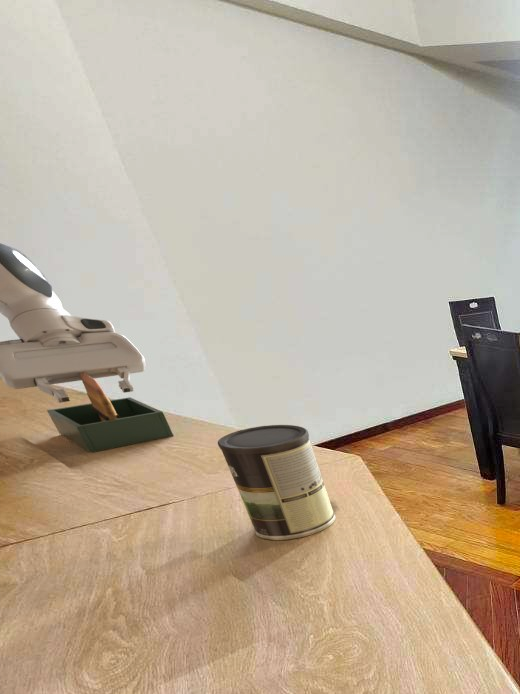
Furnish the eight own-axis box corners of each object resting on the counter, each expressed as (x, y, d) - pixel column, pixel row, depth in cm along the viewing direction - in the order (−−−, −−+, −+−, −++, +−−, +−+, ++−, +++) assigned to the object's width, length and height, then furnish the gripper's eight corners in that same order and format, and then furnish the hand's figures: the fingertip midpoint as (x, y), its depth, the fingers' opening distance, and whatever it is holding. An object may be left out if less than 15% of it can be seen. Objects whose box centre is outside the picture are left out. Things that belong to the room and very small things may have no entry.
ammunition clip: (104, 430, 121) (73, 371, 115) (116, 428, 122) (86, 369, 116) (118, 442, 115) (87, 380, 109) (131, 440, 117) (101, 379, 111)
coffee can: (249, 546, 84) (209, 452, 76) (261, 516, 91) (225, 428, 84) (334, 533, 88) (303, 442, 81) (338, 505, 96) (310, 421, 89)
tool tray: (90, 452, 110) (76, 427, 108) (60, 434, 118) (46, 410, 115) (173, 435, 120) (162, 411, 117) (141, 420, 127) (130, 397, 124)
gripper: (-31, 332, 105) (18, 396, 105) (119, 320, 120) (161, 376, 121) (-23, 355, 109) (24, 416, 110) (121, 340, 124) (162, 394, 125)
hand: (97, 395), depth 115 cm, fingers open, 8 cm apart
